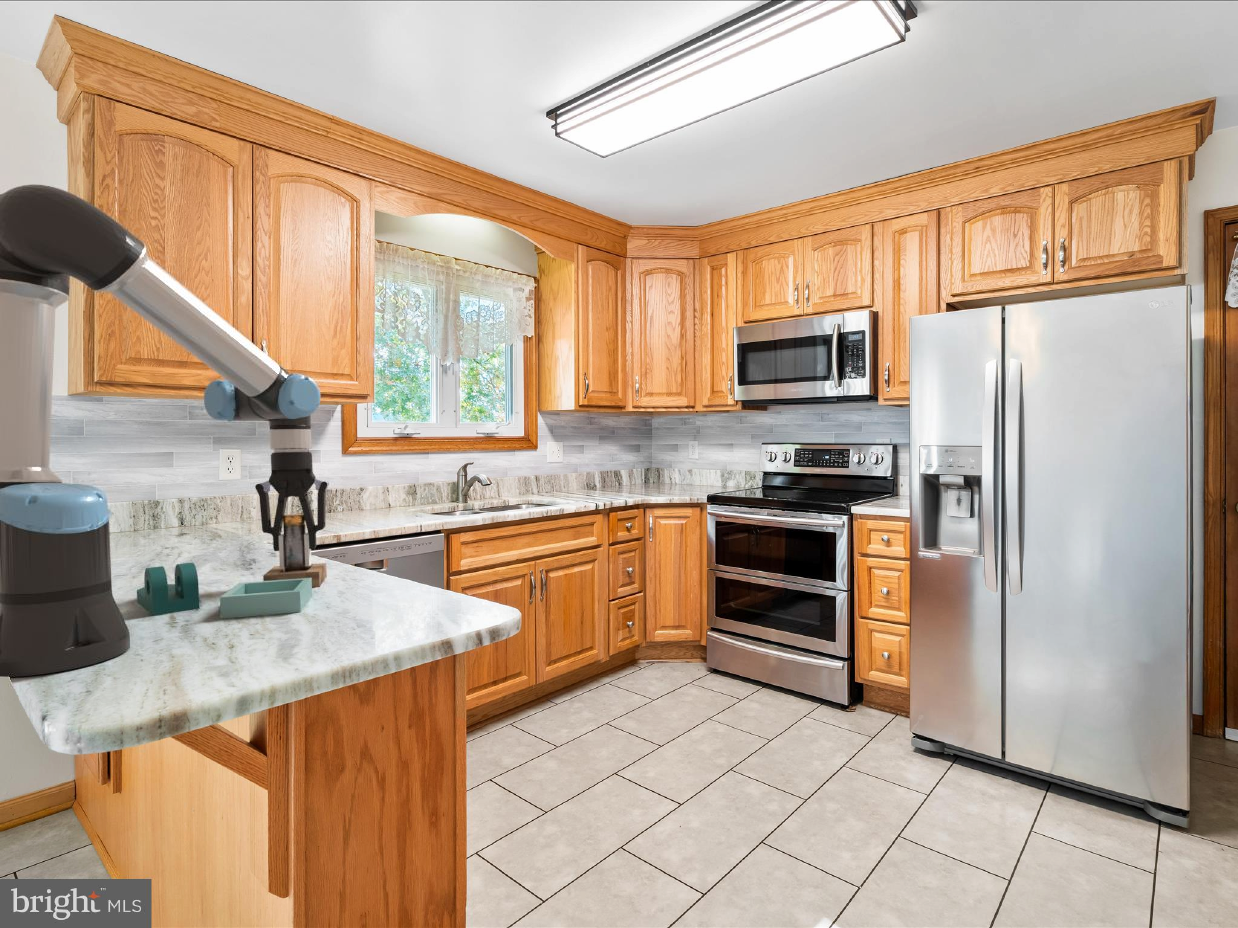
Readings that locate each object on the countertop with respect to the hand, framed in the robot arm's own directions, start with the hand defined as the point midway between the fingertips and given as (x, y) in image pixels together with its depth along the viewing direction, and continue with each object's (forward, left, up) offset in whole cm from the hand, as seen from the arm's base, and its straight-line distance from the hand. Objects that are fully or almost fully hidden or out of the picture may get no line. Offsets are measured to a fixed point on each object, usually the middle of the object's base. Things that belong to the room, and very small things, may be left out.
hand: (295, 565), depth 137 cm
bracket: (-10, +20, -4) cm, 23 cm away
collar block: (0, 0, -4) cm, 4 cm away
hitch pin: (0, 0, -4) cm, 4 cm away
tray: (-20, +1, -4) cm, 20 cm away
